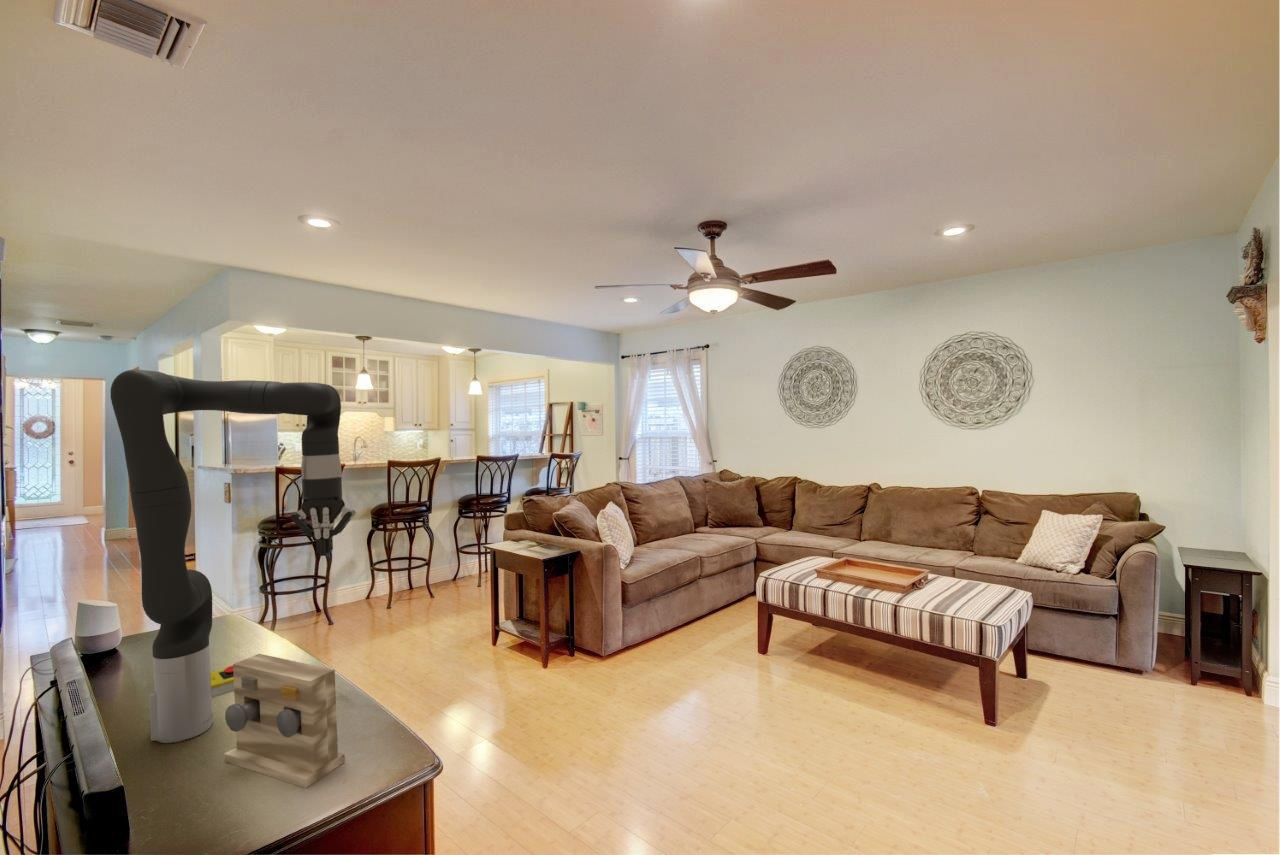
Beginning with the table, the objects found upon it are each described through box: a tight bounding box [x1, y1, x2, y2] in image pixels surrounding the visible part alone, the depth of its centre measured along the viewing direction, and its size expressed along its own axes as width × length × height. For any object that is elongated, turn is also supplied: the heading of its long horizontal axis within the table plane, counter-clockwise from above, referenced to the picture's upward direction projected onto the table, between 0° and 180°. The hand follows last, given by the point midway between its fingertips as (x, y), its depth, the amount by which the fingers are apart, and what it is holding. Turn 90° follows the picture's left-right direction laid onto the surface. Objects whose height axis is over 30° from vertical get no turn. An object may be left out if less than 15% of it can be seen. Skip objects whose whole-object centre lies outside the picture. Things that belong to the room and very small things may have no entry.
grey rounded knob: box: [277, 709, 301, 737], centre depth 106 cm, size 4×5×5 cm
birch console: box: [223, 653, 346, 789], centre depth 109 cm, size 8×22×18 cm, turn 68°
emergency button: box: [211, 665, 234, 698], centre depth 142 cm, size 9×4×15 cm
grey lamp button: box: [224, 700, 260, 733], centre depth 108 cm, size 4×5×5 cm
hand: (325, 555), depth 126 cm, fingers closed
